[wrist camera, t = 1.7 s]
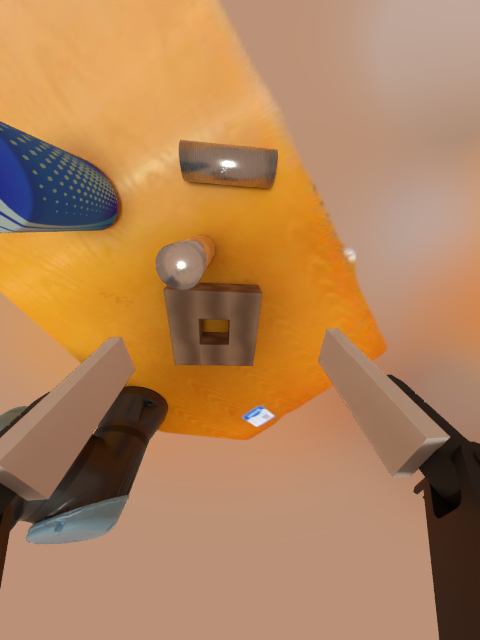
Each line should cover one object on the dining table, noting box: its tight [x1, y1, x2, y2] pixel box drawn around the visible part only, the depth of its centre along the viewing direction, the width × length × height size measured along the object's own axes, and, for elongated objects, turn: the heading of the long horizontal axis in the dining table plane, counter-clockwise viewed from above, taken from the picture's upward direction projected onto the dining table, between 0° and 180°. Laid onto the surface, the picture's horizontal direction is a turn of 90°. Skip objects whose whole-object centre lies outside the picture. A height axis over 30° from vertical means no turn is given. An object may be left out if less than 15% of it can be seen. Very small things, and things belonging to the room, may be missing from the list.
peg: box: [156, 235, 216, 290], centre depth 22 cm, size 4×4×16 cm
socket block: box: [164, 283, 262, 366], centre depth 34 cm, size 16×16×4 cm
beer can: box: [0, 122, 118, 233], centre depth 18 cm, size 8×8×16 cm
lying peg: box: [179, 140, 278, 189], centre depth 23 cm, size 12×4×4 cm, turn 87°
